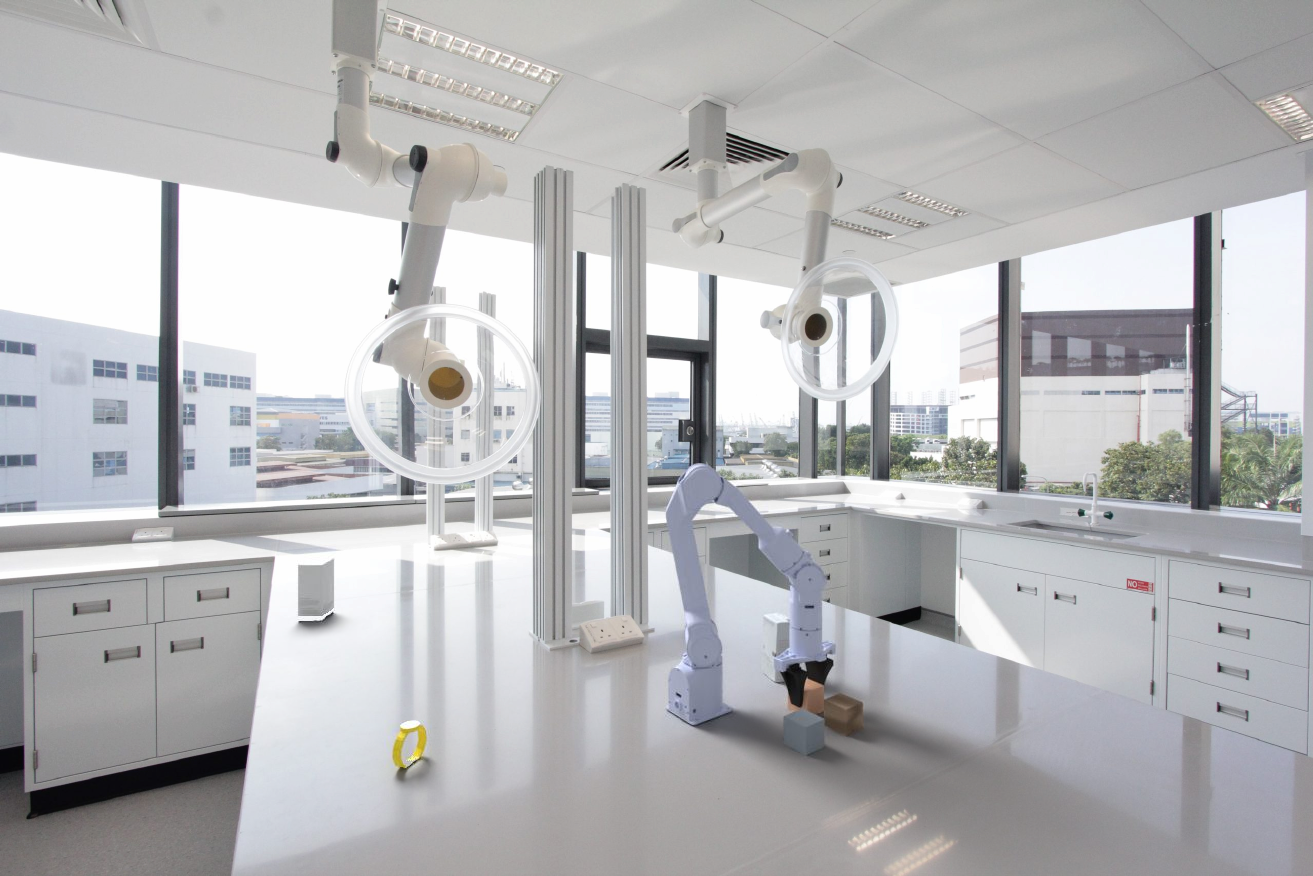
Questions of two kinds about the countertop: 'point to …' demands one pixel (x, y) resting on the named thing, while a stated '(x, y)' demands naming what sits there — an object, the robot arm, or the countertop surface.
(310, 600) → the skincare box
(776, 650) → the skincare box
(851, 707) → the walnut block
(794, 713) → the slate block
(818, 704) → the terracotta block
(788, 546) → the robot arm
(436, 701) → the countertop surface
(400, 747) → the watch
